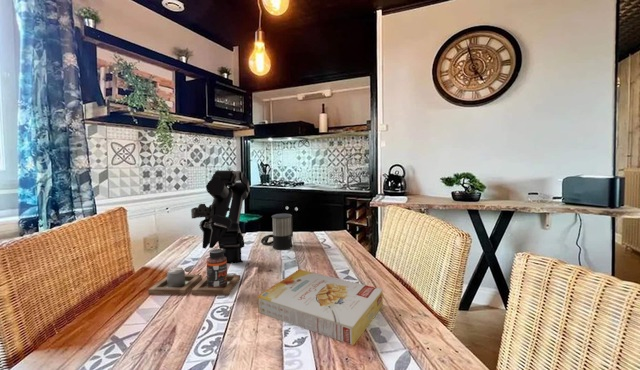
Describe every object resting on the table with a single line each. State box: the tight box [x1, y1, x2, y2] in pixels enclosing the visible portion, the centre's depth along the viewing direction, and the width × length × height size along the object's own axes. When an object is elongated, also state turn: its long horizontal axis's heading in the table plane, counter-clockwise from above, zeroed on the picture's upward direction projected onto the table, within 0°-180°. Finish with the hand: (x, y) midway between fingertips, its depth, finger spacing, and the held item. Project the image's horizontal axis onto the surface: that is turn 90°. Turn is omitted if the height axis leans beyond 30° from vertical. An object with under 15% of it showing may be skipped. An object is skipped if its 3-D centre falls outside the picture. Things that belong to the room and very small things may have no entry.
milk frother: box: [260, 213, 294, 251], centre depth 136 cm, size 14×16×15 cm
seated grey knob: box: [166, 267, 186, 287], centre depth 91 cm, size 5×5×5 cm
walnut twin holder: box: [147, 274, 241, 296], centre depth 91 cm, size 11×24×2 cm, turn 87°
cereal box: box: [257, 268, 384, 346], centre depth 79 cm, size 20×6×28 cm
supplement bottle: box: [206, 248, 228, 288], centre depth 90 cm, size 6×6×11 cm
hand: (207, 248), depth 97 cm, fingers open, 9 cm apart
